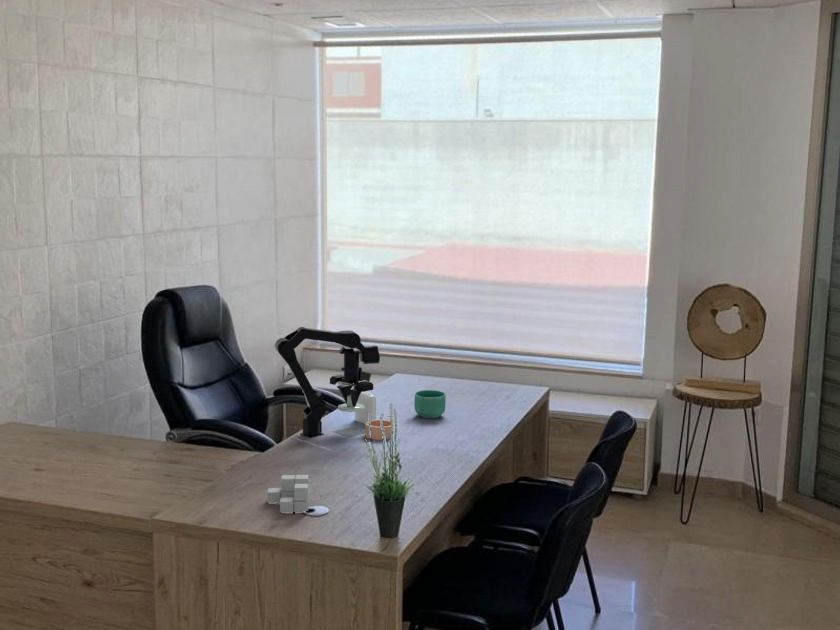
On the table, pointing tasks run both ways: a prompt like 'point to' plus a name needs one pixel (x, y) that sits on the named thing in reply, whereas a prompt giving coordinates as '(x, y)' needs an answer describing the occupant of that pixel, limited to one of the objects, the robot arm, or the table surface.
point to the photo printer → (366, 407)
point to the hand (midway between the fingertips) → (351, 405)
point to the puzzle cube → (291, 493)
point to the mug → (430, 403)
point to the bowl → (378, 429)
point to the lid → (350, 406)
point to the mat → (349, 431)
